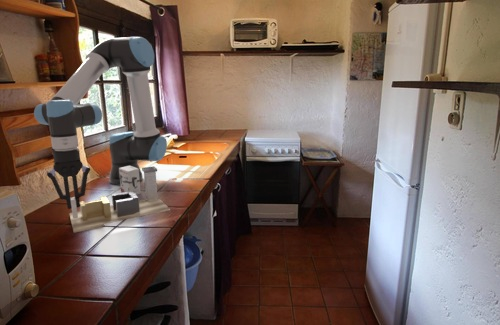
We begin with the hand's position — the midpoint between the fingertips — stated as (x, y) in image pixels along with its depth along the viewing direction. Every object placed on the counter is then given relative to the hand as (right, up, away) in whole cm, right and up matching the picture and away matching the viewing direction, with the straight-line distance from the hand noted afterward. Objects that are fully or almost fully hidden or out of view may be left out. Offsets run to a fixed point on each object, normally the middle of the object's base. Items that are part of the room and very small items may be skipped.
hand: (75, 216), depth 115 cm
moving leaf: (+6, 0, +3) cm, 7 cm away
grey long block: (+21, +4, +19) cm, 28 cm away
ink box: (+9, +4, +29) cm, 30 cm away
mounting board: (+13, 0, +8) cm, 16 cm away
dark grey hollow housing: (+14, +1, +9) cm, 17 cm away
